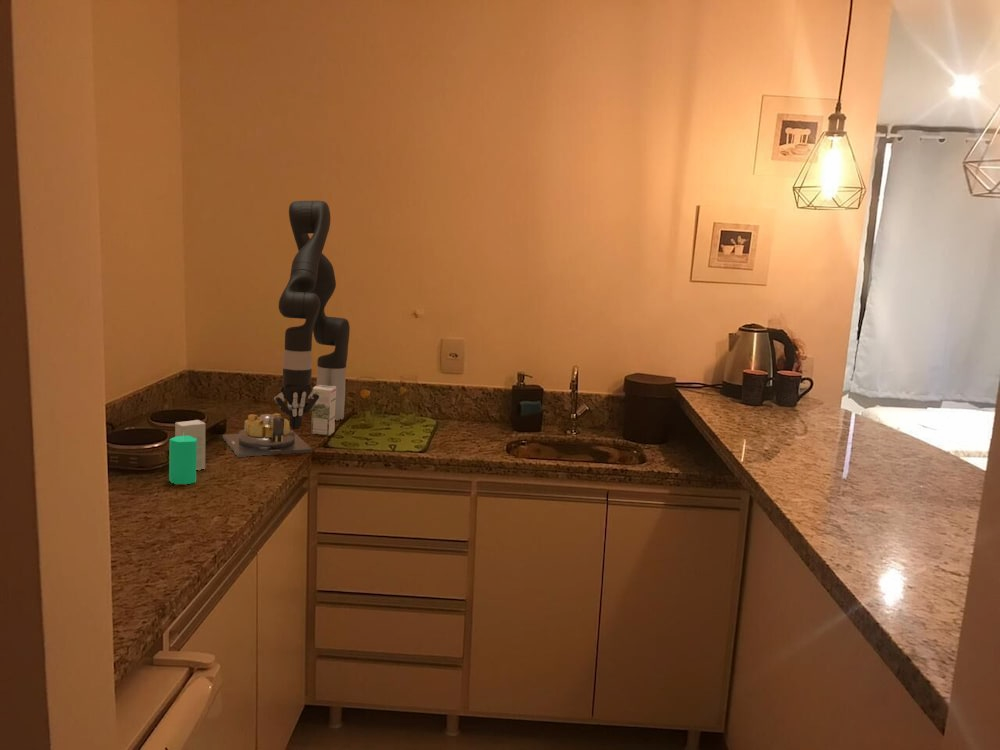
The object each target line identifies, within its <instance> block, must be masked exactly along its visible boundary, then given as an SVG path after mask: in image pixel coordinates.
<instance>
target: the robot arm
mask: <svg viewBox="0 0 1000 750" xmlns="http://www.w3.org/2000/svg"><path fill="white" fill-rule="evenodd" d="M288 217H289V223H290V227H291V230H292V231H291V232H292V234H293V237H294V241H295V244H296V248H297V251H298V252H297V253H296V255H294V257H293V260H292V263H291V267H290V268H291V269H290V275H289V280H288V282H287V284H286V286H285V288H284V289H283V292H282V293H281V294H280V295H281V296H280V297H279V300H278V310H279V312H280V314H281V315H282V317H284V318H289V319H300V320H305V321H304V323H303V324H302V325H296V326H291V327H288V328H286V330H284V331H285V332H284V351H283V357H282V379H281V381H282V387H281V389H280V393H278V394H277V395H273V397H272V399H273V401H274V402H275V404H276V406H277V407H278V408H279V409H280V410H281V412H282V413H283V414H285V415H287V416H289V425H290V429H291V430H292V431H295V430H300V428H302V427H301V426H302V420H303V419H302V418H303V415H304V414H308V413H309V412H310V411H311V410H312V407H313V405H314V404H315V403H316V401H317V400H318V398H319V395H317V394H315V393H314V392H313V387H312V385H311V384H312V373H313V372H312V371H313V369H312V368H313V354H312V353H313V352H312V350H313V347H312V345H313V344H312V343H313V338H314V340H315V343H317V344H319V345H323V346H332V347H334V351H332V352H331V353H327V354H324V355H321V356H319V357H318V358H317V363H316V364H317V365H316V367H317V369H316V386H317V385H326V386H336V403H335V420H336V421H341V420H344V418H345V401H346V398H345V397H346V381H347V378H346V377H347V361H348V350H349V342H350V341H349V340H350V331H351V330H350V328H351V327H350V323H349V320H348V319H346V318H344V317H335V316H327V315H326V313H325V309H326V306H327V303H328V302H329V300H330V299H331V298H332V296H333V295H334V292H335V290H336V288H337V282H336V276H335V269H334V266H333V264H332V262H331V261H330V259H328V258H327V256H326V255H325V254H324V253H323V250H324V248H325V244H326V241H327V238H328V235H329V232H330V226H331V210H330V207H329V205H328V203H327V202H326V201H323V200H295V201H292V202H291V203H290V205H289V206H288ZM309 234H312V235H311V237H310V235H309ZM285 401H286V402H287V405H286V404H285ZM340 419H341V420H340Z"/></svg>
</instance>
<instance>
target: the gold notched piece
mask: <svg viewBox="0 0 1000 750" xmlns="http://www.w3.org/2000/svg"><path fill="white" fill-rule="evenodd" d="M272 415H275V418H273V425H263V420H260V416H259V415H257V414H253V413H252V414H251V413H250V414H248V416H247V417H248V419H246V420H245V419H244V431H245V433H246V434H247V435H249V436H255V437H261V438H262V437H265V438H270V437H271V438H272V439H273V441H275V442H281V441H283V438H284V435H287V434H289V433H290V430H291V427H290V425H289V422H290V420H288V419H287V418H284V417H282V416H281V413H278V412H276V413H272Z"/></svg>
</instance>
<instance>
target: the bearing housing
mask: <svg viewBox="0 0 1000 750" xmlns="http://www.w3.org/2000/svg"><path fill="white" fill-rule="evenodd" d="M272 414H273V413H272ZM272 414H271V413H265V414H263V413H262V414H260V416H259V417H260V420H263V425H273V418H275V415H272ZM244 429H245V428H244ZM244 429H241V430H239V432H238V433H229V434H227V433H225V434H222V439H223V441H226V442H225V443H226V445H228V447H229V446H230V447H229V448H230V449H231V451H232V450H233V451H234V452H233V451H232V452H233V453H234V454H235V456H236V455H237V456H236V457H237V458H238V457H239V458H250V457H249V456H254V457H263V456H262V455H268V456H278V454H282V455H293V454H295V453H296V454H305V453H307V454H308V453H313V448H312V447H311V446H310V445H309V444H308V443H306V441H304V439H302V438H301V437H300V436H299V435H298V434H297V433H296V432H295V430H293V429H290V433H289V434H287V435H284V438H283V441H281V442H275V441H273V439H272V438H271V437H270V438H265V437H262V438H261V437H255V436H249V435H247V434H246V433H245V431H244ZM292 453H293V454H292ZM247 456H248V457H247Z"/></svg>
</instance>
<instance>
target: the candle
mask: <svg viewBox="0 0 1000 750" xmlns="http://www.w3.org/2000/svg"><path fill="white" fill-rule="evenodd" d="M168 440H169V443H168V444H169V454H168V455H169V458H168V467H169V468H168V482H169V481H170V482H171V483H174V484H191V483H194V482H195V483H197V471H196V470H197V438H194V437H191V436H184V432H183V436H177V437H175V436H174V437H172V438H170V439H168ZM195 483H194V484H195ZM191 485H192V484H191Z"/></svg>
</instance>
